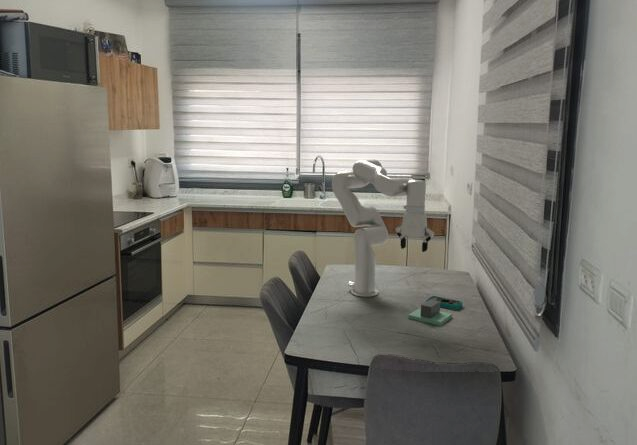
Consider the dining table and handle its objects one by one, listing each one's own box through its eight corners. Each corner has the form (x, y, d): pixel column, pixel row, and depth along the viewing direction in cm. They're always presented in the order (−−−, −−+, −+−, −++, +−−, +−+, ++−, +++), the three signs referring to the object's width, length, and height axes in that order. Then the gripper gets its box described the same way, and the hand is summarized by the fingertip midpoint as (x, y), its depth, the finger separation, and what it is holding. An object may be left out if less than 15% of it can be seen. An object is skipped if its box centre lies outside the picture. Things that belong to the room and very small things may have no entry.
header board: (408, 318, 224) (408, 307, 223) (420, 310, 233) (421, 300, 232) (440, 325, 216) (440, 314, 215) (451, 317, 225) (452, 306, 224)
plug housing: (420, 316, 222) (421, 304, 221) (429, 310, 229) (430, 299, 228) (430, 318, 219) (431, 307, 218) (439, 312, 227) (440, 301, 226)
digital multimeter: (457, 311, 234) (457, 305, 233) (425, 305, 242) (425, 298, 242) (463, 307, 240) (464, 301, 239) (432, 301, 248) (432, 294, 248)
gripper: (392, 208, 229) (391, 248, 232) (431, 212, 219) (429, 254, 222) (400, 206, 235) (399, 245, 238) (438, 210, 225) (436, 251, 228)
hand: (413, 249), depth 230 cm, fingers open, 9 cm apart
